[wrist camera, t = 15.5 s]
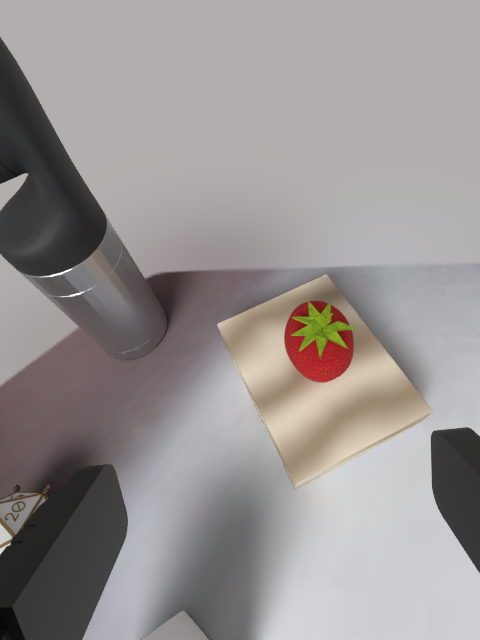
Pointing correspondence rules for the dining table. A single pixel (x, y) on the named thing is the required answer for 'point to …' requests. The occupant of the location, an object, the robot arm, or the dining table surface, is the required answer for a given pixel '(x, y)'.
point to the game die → (18, 512)
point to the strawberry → (319, 341)
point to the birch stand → (320, 387)
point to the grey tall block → (177, 629)
